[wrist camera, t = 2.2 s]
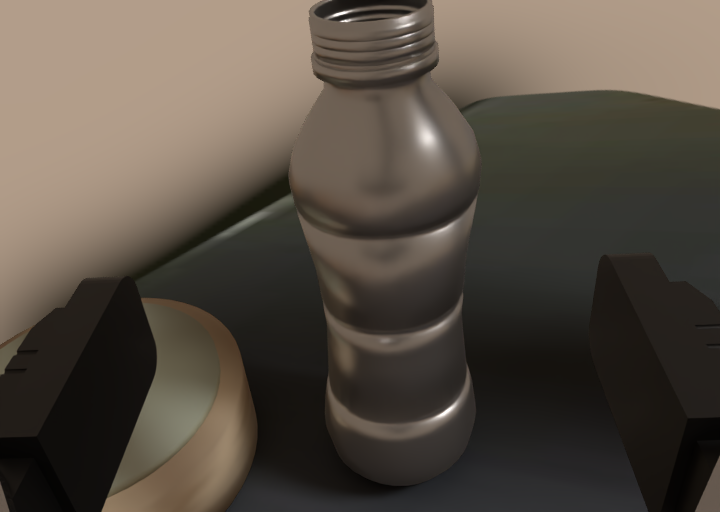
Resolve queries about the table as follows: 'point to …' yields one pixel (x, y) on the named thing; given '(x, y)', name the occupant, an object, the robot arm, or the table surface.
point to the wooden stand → (184, 418)
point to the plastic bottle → (388, 238)
